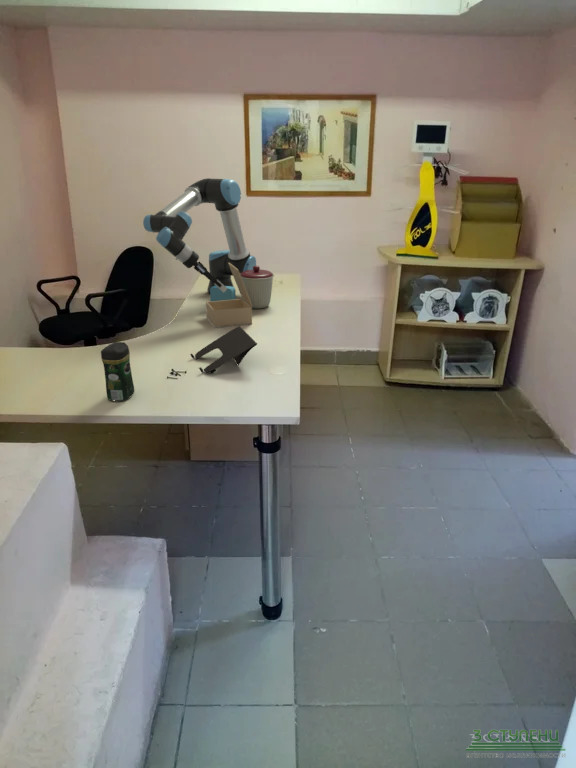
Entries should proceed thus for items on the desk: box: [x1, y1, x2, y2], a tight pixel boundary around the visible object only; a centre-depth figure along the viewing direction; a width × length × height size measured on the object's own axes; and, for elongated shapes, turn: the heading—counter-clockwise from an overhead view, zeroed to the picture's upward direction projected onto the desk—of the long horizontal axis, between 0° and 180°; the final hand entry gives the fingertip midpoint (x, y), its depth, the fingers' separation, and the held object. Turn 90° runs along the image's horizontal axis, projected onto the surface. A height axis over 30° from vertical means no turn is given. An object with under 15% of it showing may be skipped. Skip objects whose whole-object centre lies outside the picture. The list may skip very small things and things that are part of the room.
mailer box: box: [205, 298, 253, 329], centre depth 269 cm, size 16×18×8 cm
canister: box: [240, 265, 275, 310], centre depth 290 cm, size 18×18×21 cm
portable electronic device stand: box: [190, 325, 258, 374], centre depth 220 cm, size 23×23×9 cm
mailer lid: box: [228, 263, 253, 306], centre depth 266 cm, size 16×18×1 cm
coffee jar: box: [100, 341, 135, 402], centre depth 188 cm, size 10×8×19 cm
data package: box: [209, 286, 237, 302], centre depth 285 cm, size 12×4×12 cm, turn 71°
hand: (225, 290), depth 264 cm, fingers closed
